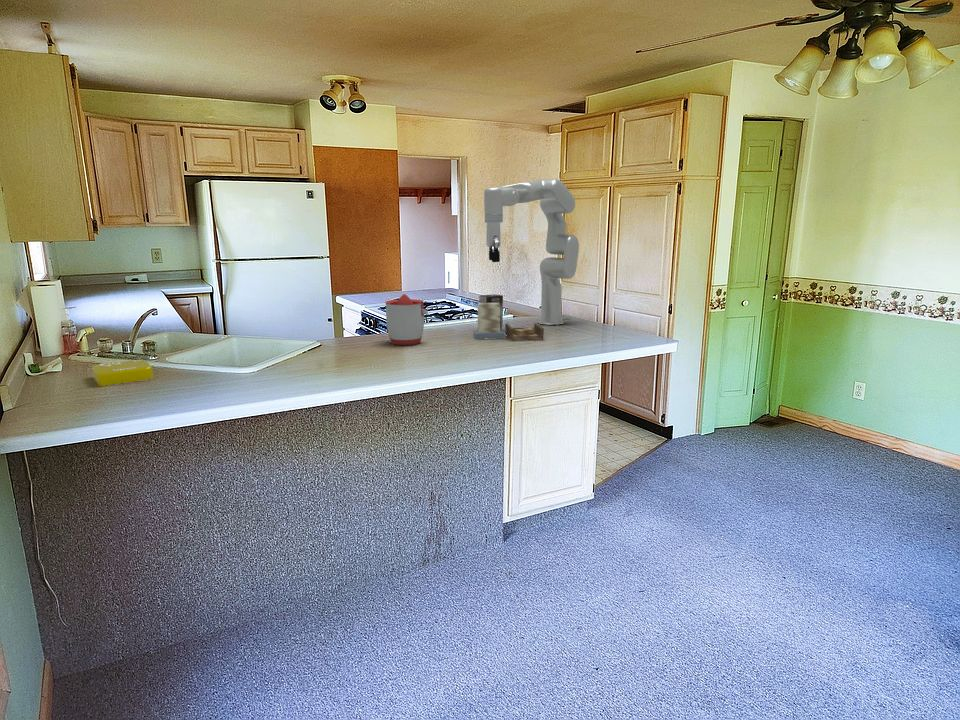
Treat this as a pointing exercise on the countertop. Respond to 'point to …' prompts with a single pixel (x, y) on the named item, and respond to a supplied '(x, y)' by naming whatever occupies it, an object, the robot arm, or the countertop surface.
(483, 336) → the slate board
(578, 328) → the countertop surface
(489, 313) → the tall cream block
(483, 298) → the coffee box
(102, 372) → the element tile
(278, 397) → the countertop surface
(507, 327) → the walnut rack
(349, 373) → the countertop surface
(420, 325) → the citrus juicer
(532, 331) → the upper oak offcut
